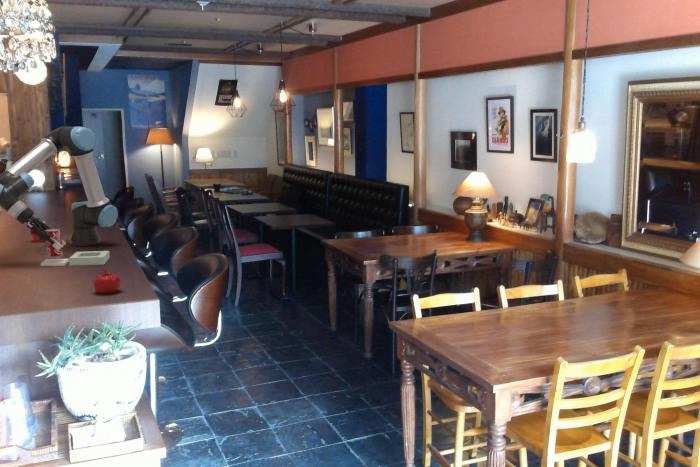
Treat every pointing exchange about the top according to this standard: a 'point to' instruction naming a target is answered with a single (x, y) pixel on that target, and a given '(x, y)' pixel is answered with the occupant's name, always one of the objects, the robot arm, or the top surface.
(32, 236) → the canned food
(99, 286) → the pomegranate
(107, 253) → the holder
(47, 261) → the tile
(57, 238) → the soda can
